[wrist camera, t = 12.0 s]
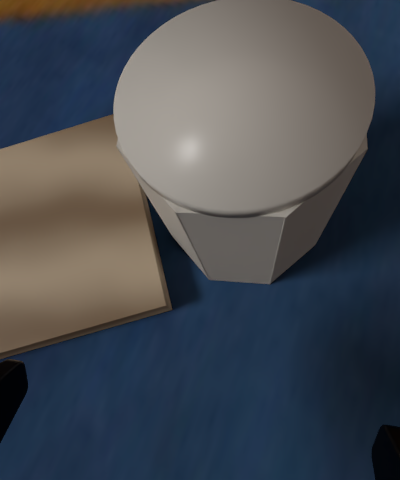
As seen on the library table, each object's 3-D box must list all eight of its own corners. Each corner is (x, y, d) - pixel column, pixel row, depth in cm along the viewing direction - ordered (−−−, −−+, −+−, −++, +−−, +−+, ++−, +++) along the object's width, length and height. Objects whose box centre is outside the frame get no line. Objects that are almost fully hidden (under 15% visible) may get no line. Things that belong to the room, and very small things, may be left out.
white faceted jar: (316, 154, 20) (368, -11, 11) (316, 289, 18) (383, 215, 9) (183, 152, 22) (134, 2, 13) (166, 278, 19) (91, 203, 10)
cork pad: (172, 309, 19) (165, 305, 17) (-43, 371, 19) (-66, 371, 18) (130, 126, 23) (122, 111, 21) (-45, 181, 23) (-64, 169, 22)
